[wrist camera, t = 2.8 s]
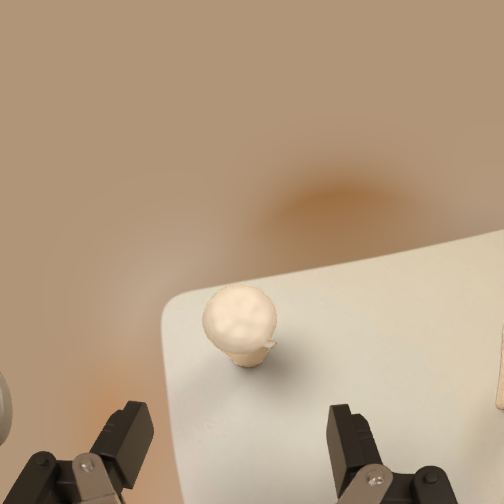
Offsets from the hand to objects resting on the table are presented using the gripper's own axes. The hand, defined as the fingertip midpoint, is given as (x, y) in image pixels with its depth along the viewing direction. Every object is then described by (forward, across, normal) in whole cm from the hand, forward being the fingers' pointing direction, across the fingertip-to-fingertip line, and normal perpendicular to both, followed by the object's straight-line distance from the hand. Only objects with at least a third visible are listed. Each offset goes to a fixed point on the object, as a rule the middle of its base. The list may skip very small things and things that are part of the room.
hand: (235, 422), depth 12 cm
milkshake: (+13, 0, +4) cm, 14 cm away
